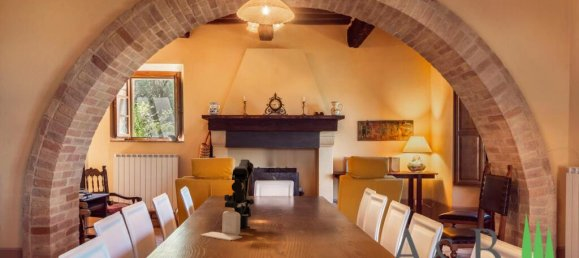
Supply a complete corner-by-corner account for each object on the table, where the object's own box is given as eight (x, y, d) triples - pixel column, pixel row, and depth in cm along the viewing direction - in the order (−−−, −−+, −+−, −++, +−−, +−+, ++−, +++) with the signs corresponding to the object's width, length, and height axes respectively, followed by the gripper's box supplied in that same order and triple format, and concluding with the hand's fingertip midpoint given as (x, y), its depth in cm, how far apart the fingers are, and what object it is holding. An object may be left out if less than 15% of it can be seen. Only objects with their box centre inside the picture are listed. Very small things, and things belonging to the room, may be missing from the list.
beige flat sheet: (212, 232, 240) (212, 231, 240) (242, 237, 229) (242, 236, 229) (200, 235, 232) (200, 234, 232) (230, 240, 222) (230, 239, 222)
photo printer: (241, 234, 237) (241, 211, 237) (236, 235, 233) (236, 212, 233) (225, 232, 242) (226, 209, 242) (220, 233, 238) (221, 210, 238)
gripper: (238, 187, 256) (238, 215, 256) (217, 190, 240) (216, 219, 240) (254, 189, 250) (254, 217, 250) (233, 192, 234) (232, 222, 234)
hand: (239, 218), depth 243 cm, fingers closed
